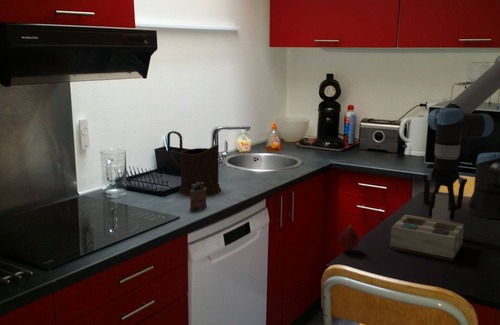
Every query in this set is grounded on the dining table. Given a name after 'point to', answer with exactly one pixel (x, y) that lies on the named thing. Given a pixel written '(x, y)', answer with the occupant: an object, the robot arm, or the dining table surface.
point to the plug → (441, 206)
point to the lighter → (198, 197)
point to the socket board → (427, 237)
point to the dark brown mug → (197, 168)
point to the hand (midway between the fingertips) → (440, 227)
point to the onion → (349, 238)
